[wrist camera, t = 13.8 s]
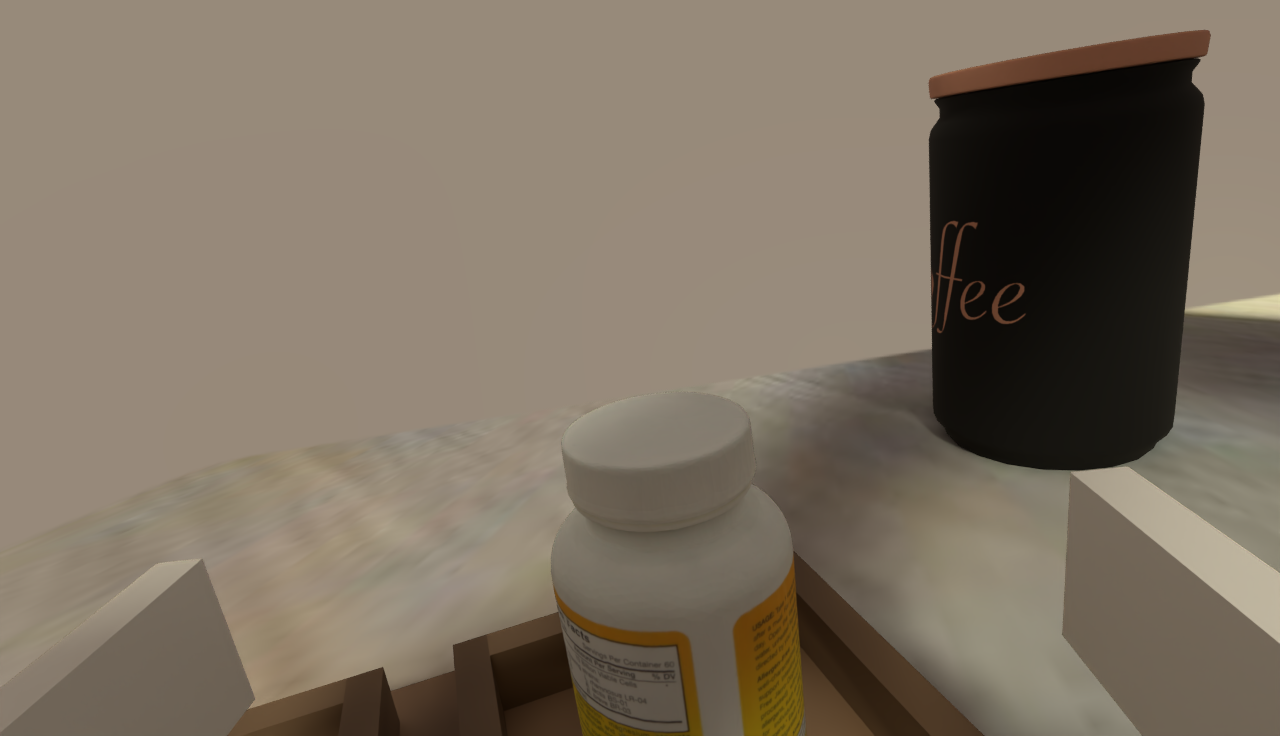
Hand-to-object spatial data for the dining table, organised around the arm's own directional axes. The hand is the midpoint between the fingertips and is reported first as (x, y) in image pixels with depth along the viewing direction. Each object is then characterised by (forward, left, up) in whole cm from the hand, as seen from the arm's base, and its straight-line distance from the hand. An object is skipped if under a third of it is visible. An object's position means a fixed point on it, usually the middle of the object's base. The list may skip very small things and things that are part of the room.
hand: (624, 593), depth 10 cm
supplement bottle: (-2, -4, -9) cm, 10 cm away
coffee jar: (-26, -17, -10) cm, 33 cm away
